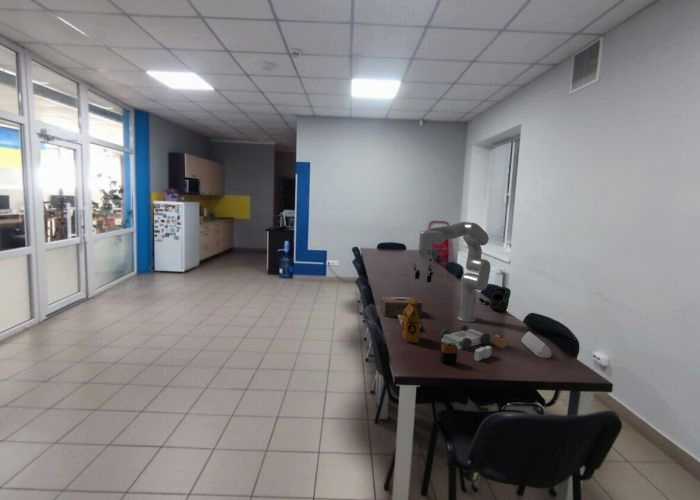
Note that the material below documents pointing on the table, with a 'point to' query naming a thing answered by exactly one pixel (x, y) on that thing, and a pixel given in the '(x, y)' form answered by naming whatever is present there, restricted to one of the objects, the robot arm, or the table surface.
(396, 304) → the tissue box cover
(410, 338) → the coffee package
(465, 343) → the chassis
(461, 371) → the table surface
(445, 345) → the battery
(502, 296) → the headset
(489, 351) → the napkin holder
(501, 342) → the box with black knob
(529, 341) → the crystal
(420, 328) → the puzzle game
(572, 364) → the table surface
